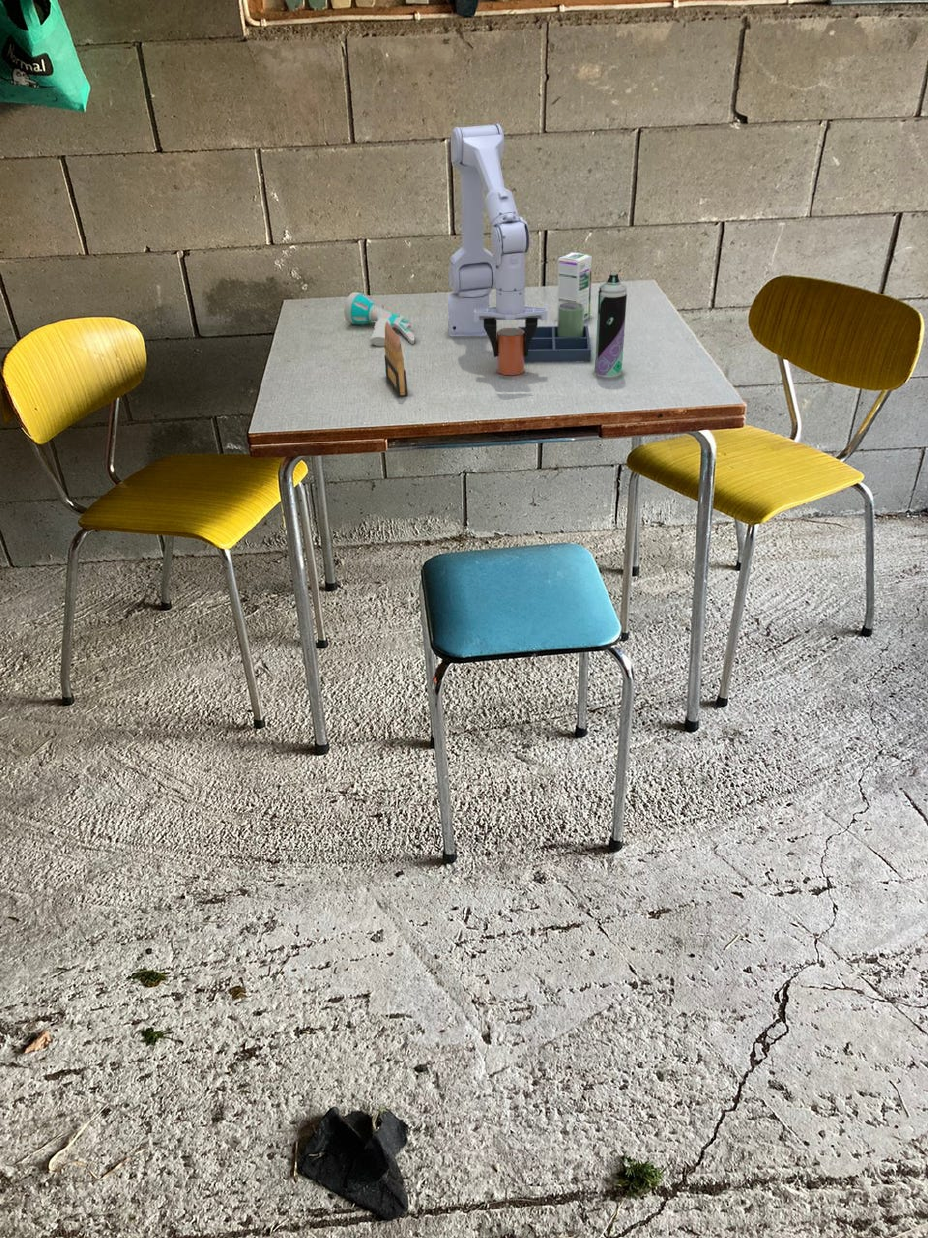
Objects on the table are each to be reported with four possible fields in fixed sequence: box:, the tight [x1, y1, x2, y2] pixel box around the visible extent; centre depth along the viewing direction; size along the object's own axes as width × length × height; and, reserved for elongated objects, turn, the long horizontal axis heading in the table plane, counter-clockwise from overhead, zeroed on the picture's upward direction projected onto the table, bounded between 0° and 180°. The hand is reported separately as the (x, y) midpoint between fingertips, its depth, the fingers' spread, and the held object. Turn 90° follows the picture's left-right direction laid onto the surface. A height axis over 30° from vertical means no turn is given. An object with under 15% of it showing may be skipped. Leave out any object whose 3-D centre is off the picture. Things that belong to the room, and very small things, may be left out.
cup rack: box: [517, 325, 592, 363], centre depth 204 cm, size 15×15×3 cm
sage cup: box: [557, 302, 585, 338], centre depth 205 cm, size 6×6×8 cm
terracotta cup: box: [496, 327, 525, 376], centre depth 192 cm, size 6×6×8 cm
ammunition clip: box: [384, 322, 408, 398], centre depth 188 cm, size 11×2×12 cm, turn 18°
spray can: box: [594, 273, 628, 378], centre depth 187 cm, size 6×6×20 cm
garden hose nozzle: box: [343, 291, 416, 347], centre depth 218 cm, size 7×18×20 cm
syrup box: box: [556, 251, 593, 320], centre depth 217 cm, size 6×6×14 cm
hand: (510, 354), depth 193 cm, fingers closed on terracotta cup, 5 cm apart
